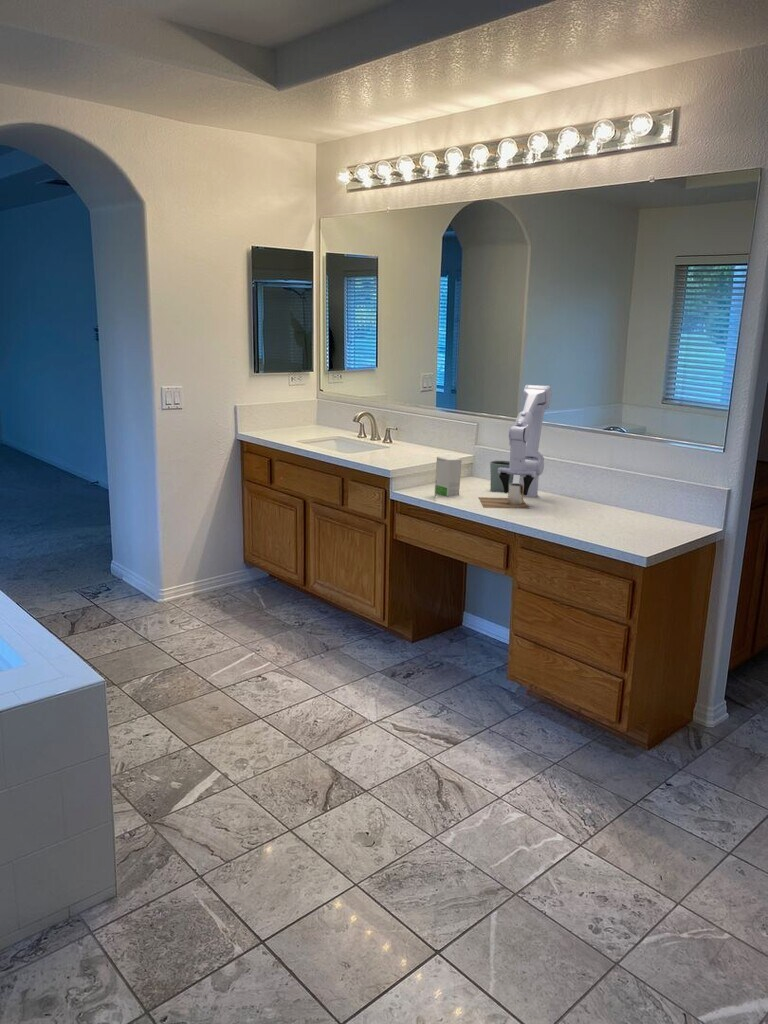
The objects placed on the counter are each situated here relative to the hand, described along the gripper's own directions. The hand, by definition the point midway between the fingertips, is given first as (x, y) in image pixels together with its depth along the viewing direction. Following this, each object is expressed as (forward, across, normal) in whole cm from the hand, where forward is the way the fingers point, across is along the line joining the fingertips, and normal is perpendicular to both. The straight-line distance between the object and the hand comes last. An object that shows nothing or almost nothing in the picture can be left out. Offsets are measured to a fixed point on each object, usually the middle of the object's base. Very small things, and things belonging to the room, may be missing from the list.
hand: (515, 493), depth 303 cm
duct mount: (+4, -4, -2) cm, 6 cm away
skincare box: (+5, -29, +1) cm, 29 cm away
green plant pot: (+5, -14, +22) cm, 26 cm away
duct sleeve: (+3, 0, 0) cm, 3 cm away
